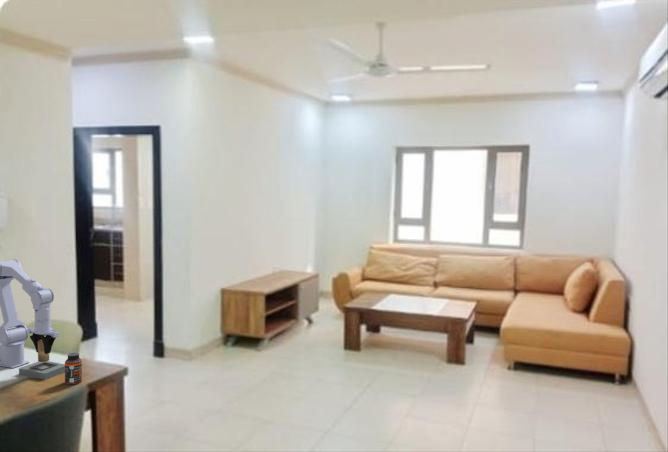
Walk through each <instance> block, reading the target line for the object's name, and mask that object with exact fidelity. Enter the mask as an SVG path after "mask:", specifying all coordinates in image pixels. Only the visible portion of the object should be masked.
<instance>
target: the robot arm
mask: <svg viewBox="0 0 668 452" xmlns="http://www.w3.org/2000/svg"><path fill="white" fill-rule="evenodd" d="M13 280H15V281H17V282H18V283H20V284H21V288H22V290H23V291H24V292H25V293H26V294H27V295H28V296H29V297H30V301H31V303H32V309H33V310H34V327H29V328H27V326H26V323H25V321H22V320H21V319H19V317H18V313H17V309H16V305H15V300H14V296H13V292H12V288H11V282H12V281H13ZM54 298H55V295H54V292H53V290H52V289H51V288H47V287H43V285H41V284H40V283H39V282H38V281H37V280H36V279H35V278H30V277H29V276H28V274H27V273H26V272H25V270H23V267H22V263H21V262H20V261H19V259H16V258H15V259H10V260H1V261H0V311H1V316H2V320H3V323H2V324H1V325H0V367H5V368H9V369H15V368H17V367H18V368H19V366H23V365H26V364H28V363H29V364H30V361H29V360H25V343H26V340H27V339H30V340H31V341H32V344H33V345H34V348H35V352H36V353H37V354H38V341H39V340H42V341H43V344H44V352H45V354H48V353H49V354H51V353H52V348H53V345H54V342H55V341H56V339H57V338H58V337H59V335H60V333H59V332H60V331H57V330H54V328H53V327H52V316H51V315H52V314H51V313H52V310H51V309H52V307H51V303H53V301H54ZM29 334H32V335H29Z"/></svg>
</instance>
